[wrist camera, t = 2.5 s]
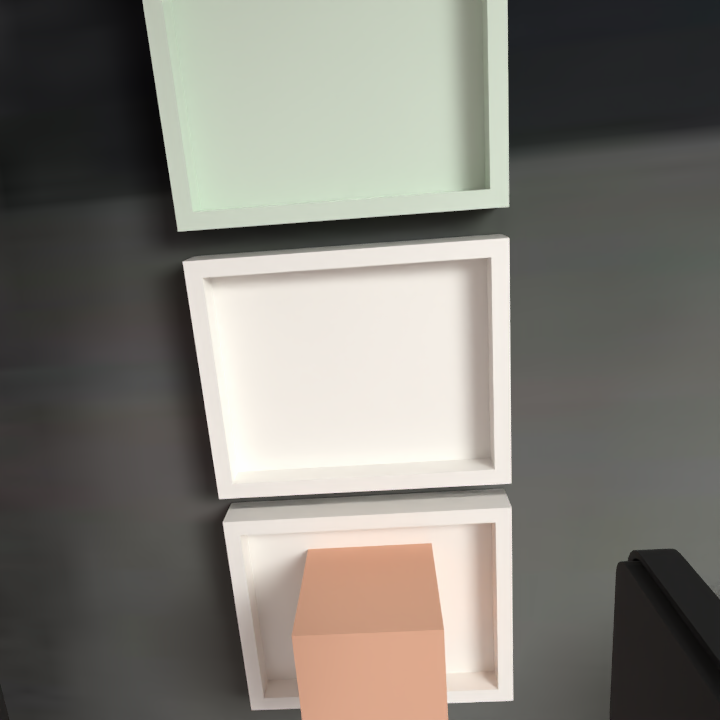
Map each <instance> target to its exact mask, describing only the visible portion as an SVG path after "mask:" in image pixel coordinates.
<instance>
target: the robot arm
mask: <svg viewBox="0 0 720 720" xmlns="http://www.w3.org/2000/svg"><path fill="white" fill-rule="evenodd" d="M0 720H9V717H8V713H7V709H6V705H5V701H4V697H3V693H2V689H1V685H0ZM610 720H720V599H719V598H718V597H717V596H716V595H715V594H714V592H713V591H712V590H711V589H710V588H709V587H708V585H707V584H706V583H705V582H704V581H703V580H702V578H701V577H700V576H699V575H698V574H697V573H696V571H695V570H694V569H693V568H692V567H691V566H690V564H689V563H688V562H687V561H686V560H685V559H684V557H683V556H682V555H681V554H680V553H679V552H678V551H677V550H675V549H654V550H633V551H632V552H631V553H630V555H629V557H628V561H624V562H619V563H618V565H617V569H616V586H615V609H614V631H613V653H612V676H611V698H610Z"/></svg>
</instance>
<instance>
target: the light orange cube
mask: <svg viewBox="0 0 720 720" xmlns="http://www.w3.org/2000/svg"><path fill="white" fill-rule="evenodd" d="M292 644H293V652H294V660H295V668H296V676H297V684H298V692H299V700H300V707H301V715H302V720H448V707H447V685H446V662H445V640H444V626H443V619H442V612H441V605H440V598H439V591H438V584H437V577H436V570H435V563H434V557H433V550H432V543H424V544H404V545H383V546H363V547H343V548H322V549H308V553H307V558H306V563H305V568H304V573H303V579H302V584H301V589H300V594H299V600H298V605H297V610H296V615H295V620H294V626H293V631H292Z"/></svg>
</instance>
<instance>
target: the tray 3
mask: <svg viewBox="0 0 720 720" xmlns="http://www.w3.org/2000/svg"><path fill="white" fill-rule="evenodd" d="M223 528H224V534H225V541H226V547H227V554H228V560H229V567H230V573H231V580H232V587H233V593H234V600H235V606H236V613H237V619H238V626H239V632H240V639H241V645H242V652H243V658H244V665H245V671H246V678H247V684H248V691H249V697H250V704H251V710H273V709H300V708H301V707H300V700H299V692H298V684H297V676H296V668H295V660H294V652H293V644H292V631H293V626H294V620H295V615H296V610H297V605H298V600H299V594H300V589H301V584H302V579H303V573H304V568H305V563H306V558H307V553H308V549H322V548H343V547H363V546H383V545H404V544H424V543H432V550H433V557H434V563H435V570H436V577H437V584H438V591H439V598H440V605H441V612H442V619H443V626H444V640H445V662H446V685H447V703H465V702H492V701H513V623H512V507H511V505H510V502H509V500H508V497H507V495H506V492H505V490H504V488H502V489H483V490H464V491H445V492H427V493H408V494H389V495H370V496H351V497H332V498H314V499H295V500H276V501H257V502H238V503H231V505H230V507H229V510H228V512H227V514H226V516H225V518H224V521H223Z"/></svg>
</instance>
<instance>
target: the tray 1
mask: <svg viewBox="0 0 720 720" xmlns="http://www.w3.org/2000/svg"><path fill="white" fill-rule="evenodd" d="M142 1H143V8H144V14H145V21H146V27H147V34H148V40H149V47H150V53H151V60H152V66H153V73H154V79H155V86H156V92H157V99H158V105H159V112H160V118H161V125H162V131H163V138H164V144H165V151H166V157H167V164H168V170H169V177H170V183H171V190H172V196H173V203H174V209H175V216H176V222H177V229H178V232H180V231H194V230H207V229H220V228H233V227H247V226H260V225H273V224H287V223H300V222H313V221H327V220H340V219H353V218H367V217H380V216H393V215H406V214H420V213H433V212H446V211H460V210H473V209H486V208H500V207H509V132H508V10H507V0H142Z"/></svg>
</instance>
